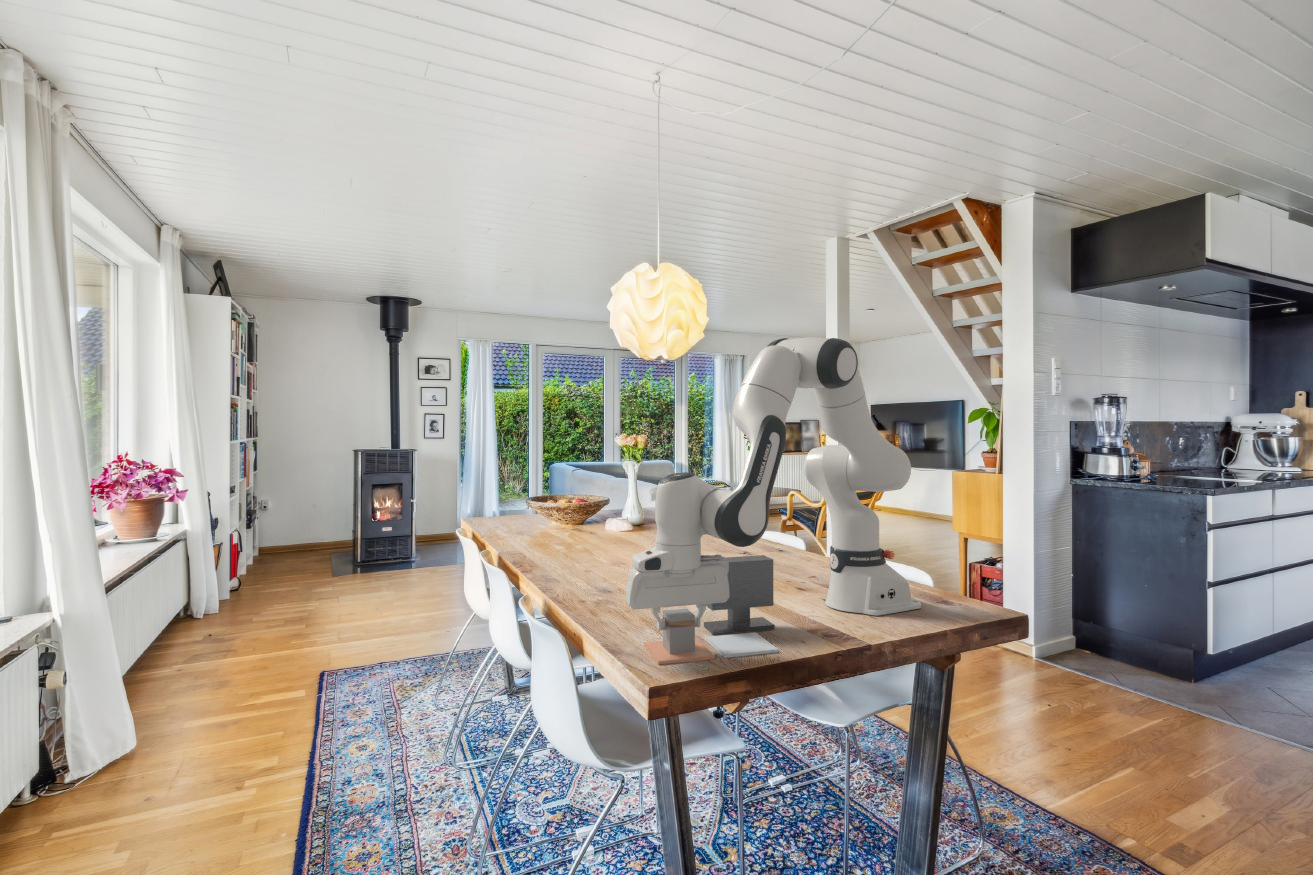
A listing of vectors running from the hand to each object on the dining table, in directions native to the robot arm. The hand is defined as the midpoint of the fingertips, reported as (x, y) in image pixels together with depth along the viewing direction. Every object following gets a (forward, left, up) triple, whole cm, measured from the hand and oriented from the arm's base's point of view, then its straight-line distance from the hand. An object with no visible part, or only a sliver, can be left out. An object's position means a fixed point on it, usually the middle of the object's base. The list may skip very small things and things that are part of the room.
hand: (678, 627), depth 127 cm
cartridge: (0, 0, -4) cm, 4 cm away
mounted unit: (-17, -11, -5) cm, 21 cm away
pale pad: (-13, 0, -5) cm, 14 cm away
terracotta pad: (0, 0, -5) cm, 5 cm away
